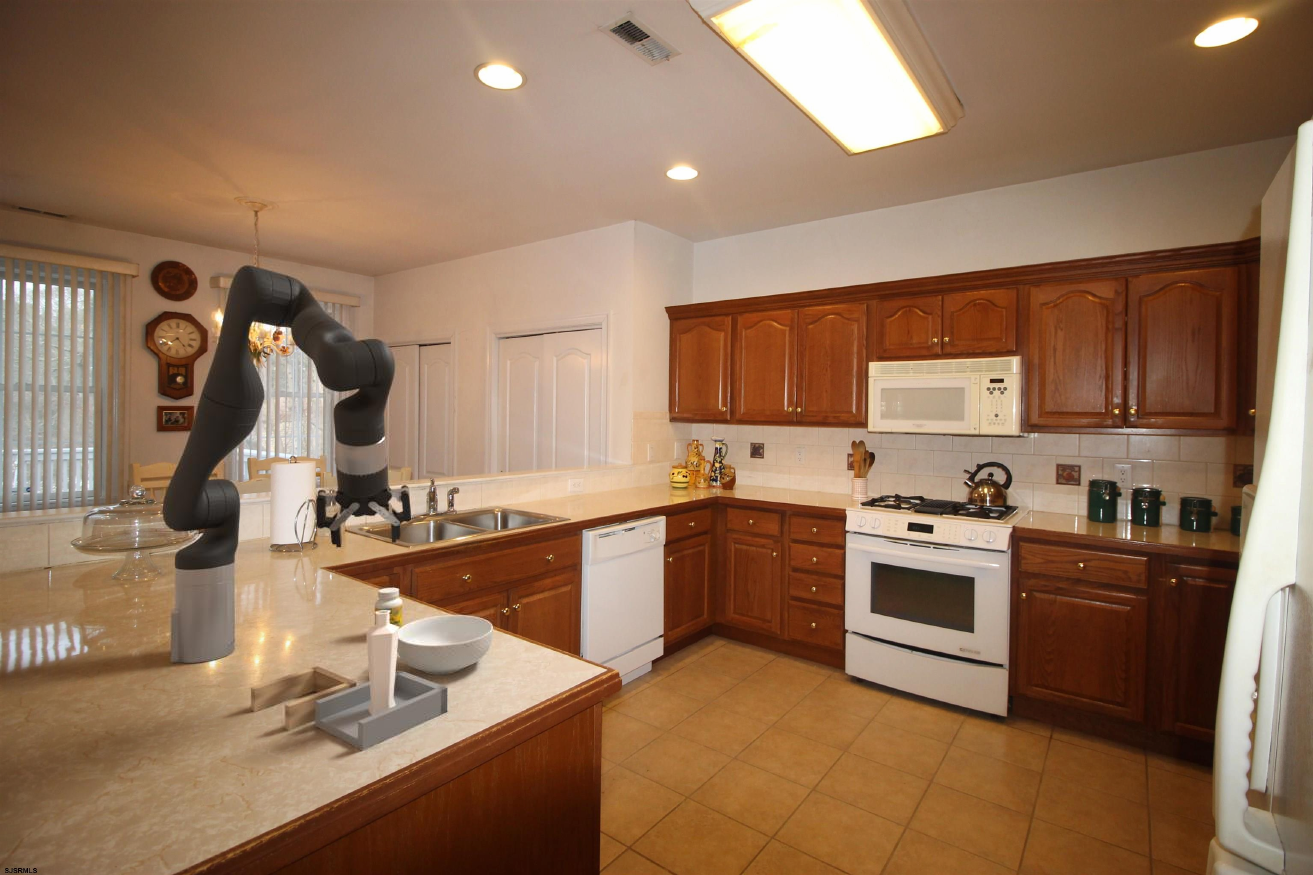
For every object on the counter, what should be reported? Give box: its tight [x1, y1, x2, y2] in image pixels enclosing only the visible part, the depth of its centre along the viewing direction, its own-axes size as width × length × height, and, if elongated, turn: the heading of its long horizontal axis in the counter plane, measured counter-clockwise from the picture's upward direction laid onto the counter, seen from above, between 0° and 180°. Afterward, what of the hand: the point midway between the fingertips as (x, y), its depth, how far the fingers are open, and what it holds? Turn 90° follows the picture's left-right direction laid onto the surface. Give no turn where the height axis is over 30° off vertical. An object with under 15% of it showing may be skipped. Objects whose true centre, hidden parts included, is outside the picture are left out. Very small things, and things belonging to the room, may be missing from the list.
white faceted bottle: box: [365, 610, 399, 715], centre depth 94 cm, size 5×4×15 cm
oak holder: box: [250, 665, 358, 731], centre depth 98 cm, size 10×11×4 cm
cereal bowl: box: [397, 614, 494, 675], centre depth 115 cm, size 17×17×7 cm
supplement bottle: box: [374, 587, 404, 629], centre depth 130 cm, size 5×5×10 cm
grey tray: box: [314, 669, 448, 751], centre depth 94 cm, size 14×12×4 cm
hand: (366, 542), depth 107 cm, fingers open, 8 cm apart
